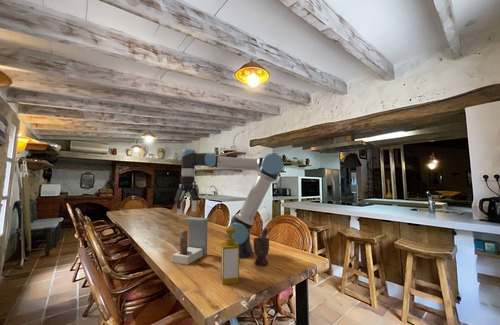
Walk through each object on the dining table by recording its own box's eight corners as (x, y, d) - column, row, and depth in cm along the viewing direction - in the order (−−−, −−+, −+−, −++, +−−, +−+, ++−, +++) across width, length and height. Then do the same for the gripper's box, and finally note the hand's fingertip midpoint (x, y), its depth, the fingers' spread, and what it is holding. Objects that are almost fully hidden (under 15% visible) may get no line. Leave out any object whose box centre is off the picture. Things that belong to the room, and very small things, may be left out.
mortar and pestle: (276, 266, 112) (276, 227, 114) (264, 270, 107) (264, 229, 109) (262, 259, 122) (262, 224, 124) (250, 263, 117) (250, 225, 118)
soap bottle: (251, 281, 95) (251, 227, 97) (222, 284, 92) (223, 228, 94) (247, 274, 102) (248, 224, 104) (221, 277, 99) (221, 225, 101)
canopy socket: (208, 254, 130) (208, 218, 132) (190, 265, 113) (191, 223, 115) (188, 251, 135) (189, 217, 137) (169, 261, 118) (170, 222, 120)
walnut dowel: (188, 259, 121) (188, 230, 122) (184, 262, 117) (184, 232, 119) (182, 258, 122) (183, 230, 124) (178, 261, 119) (178, 232, 120)
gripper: (194, 176, 137) (194, 210, 136) (168, 175, 114) (166, 215, 112) (205, 176, 135) (204, 210, 133) (179, 175, 112) (178, 216, 110)
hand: (187, 213), depth 123 cm, fingers open, 13 cm apart
